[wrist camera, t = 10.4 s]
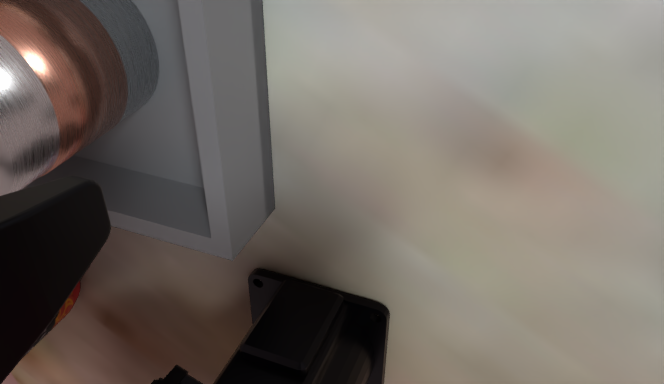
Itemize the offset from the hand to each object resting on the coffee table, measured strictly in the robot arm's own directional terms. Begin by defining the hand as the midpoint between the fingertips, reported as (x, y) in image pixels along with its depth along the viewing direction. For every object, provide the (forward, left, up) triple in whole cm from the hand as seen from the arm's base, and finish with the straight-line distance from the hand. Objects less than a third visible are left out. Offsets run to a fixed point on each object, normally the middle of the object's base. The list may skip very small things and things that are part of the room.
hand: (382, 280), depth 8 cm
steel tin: (-3, +15, -11) cm, 19 cm away
